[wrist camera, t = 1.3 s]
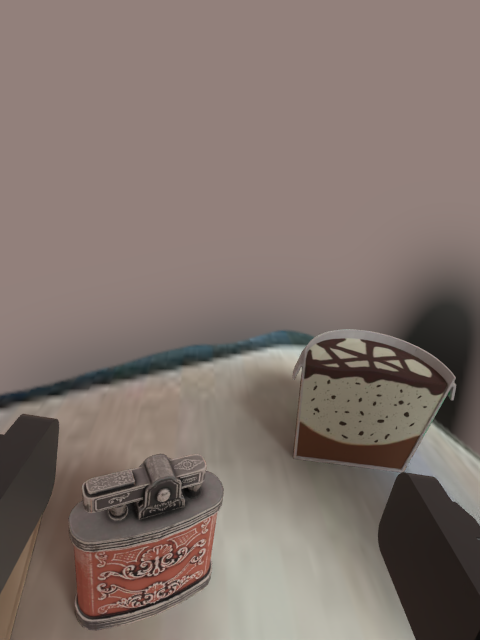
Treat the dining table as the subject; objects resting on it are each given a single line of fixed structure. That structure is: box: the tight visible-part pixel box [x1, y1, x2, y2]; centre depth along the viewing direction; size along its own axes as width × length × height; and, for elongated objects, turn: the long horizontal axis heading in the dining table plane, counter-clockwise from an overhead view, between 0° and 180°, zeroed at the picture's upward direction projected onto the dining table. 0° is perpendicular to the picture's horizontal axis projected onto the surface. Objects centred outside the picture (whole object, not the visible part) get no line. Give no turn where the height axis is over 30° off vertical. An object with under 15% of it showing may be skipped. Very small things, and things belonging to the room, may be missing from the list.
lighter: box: [68, 454, 224, 630], centre depth 25 cm, size 8×3×10 cm, turn 115°
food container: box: [293, 329, 456, 473], centre depth 38 cm, size 12×6×10 cm, turn 87°
